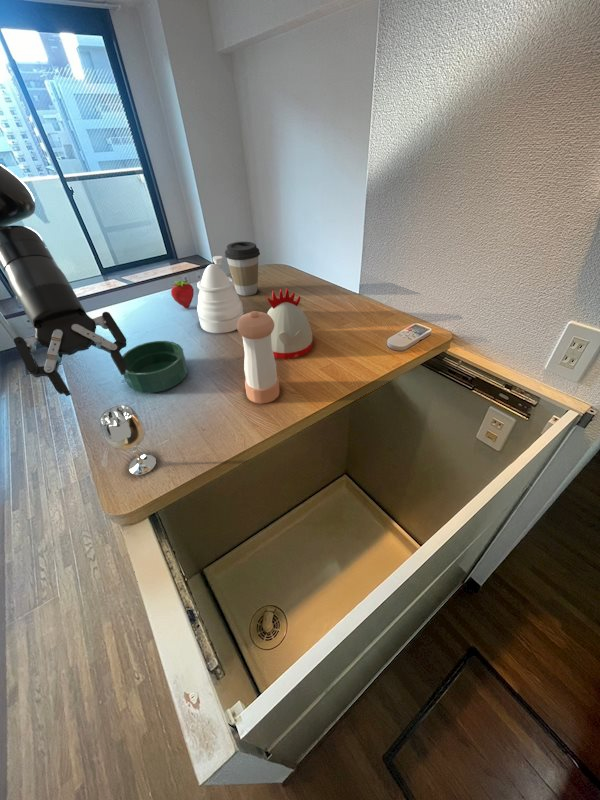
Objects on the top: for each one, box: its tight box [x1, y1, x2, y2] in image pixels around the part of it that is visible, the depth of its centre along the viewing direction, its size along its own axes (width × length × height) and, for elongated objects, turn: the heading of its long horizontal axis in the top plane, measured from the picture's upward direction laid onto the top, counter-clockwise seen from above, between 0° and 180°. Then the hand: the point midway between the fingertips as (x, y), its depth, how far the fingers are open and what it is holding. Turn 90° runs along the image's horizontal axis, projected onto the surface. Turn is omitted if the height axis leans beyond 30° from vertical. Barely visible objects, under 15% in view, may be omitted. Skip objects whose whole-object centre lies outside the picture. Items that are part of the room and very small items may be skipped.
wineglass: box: [99, 404, 157, 476], centre depth 53 cm, size 6×6×12 cm
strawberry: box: [170, 275, 195, 309], centre depth 100 cm, size 6×8×10 cm
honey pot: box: [196, 255, 245, 334], centre depth 90 cm, size 13×13×18 cm
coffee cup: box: [224, 241, 261, 297], centre depth 108 cm, size 11×11×15 cm
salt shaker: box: [236, 310, 280, 404], centre depth 65 cm, size 7×7×19 cm
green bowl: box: [122, 340, 189, 394], centre depth 75 cm, size 14×14×6 cm
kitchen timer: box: [266, 287, 313, 360], centre depth 82 cm, size 14×14×15 cm
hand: (97, 383), depth 53 cm, fingers open, 8 cm apart
